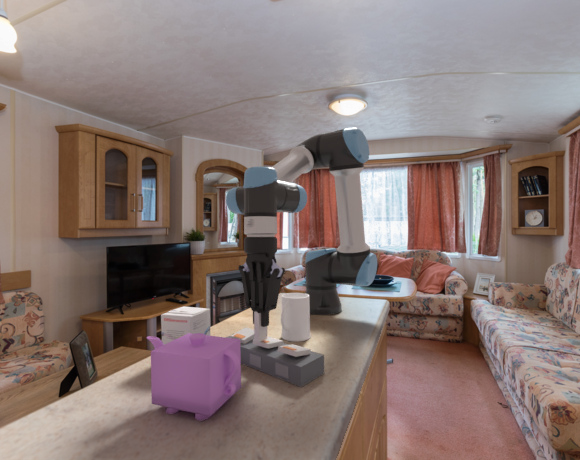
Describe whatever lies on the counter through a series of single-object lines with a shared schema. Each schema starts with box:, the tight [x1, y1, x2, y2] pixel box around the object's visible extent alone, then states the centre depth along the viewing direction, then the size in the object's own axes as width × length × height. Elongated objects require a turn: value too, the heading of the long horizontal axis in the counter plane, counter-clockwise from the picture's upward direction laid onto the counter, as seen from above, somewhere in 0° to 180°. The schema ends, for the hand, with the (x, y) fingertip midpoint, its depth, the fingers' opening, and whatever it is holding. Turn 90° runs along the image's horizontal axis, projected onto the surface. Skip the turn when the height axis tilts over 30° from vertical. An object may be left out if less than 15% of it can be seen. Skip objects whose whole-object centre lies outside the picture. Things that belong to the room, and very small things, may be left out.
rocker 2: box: [253, 336, 284, 349], centre depth 77 cm, size 5×5×1 cm
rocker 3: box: [278, 343, 312, 357], centre depth 72 cm, size 5×5×1 cm
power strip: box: [225, 335, 325, 388], centre depth 79 cm, size 8×32×4 cm, turn 49°
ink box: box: [160, 306, 211, 345], centre depth 81 cm, size 9×8×12 cm
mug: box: [280, 292, 312, 342], centre depth 94 cm, size 12×8×12 cm
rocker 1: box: [230, 326, 254, 344], centre depth 82 cm, size 5×5×1 cm
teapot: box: [146, 333, 242, 421], centre depth 60 cm, size 20×10×12 cm, turn 70°
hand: (260, 339), depth 75 cm, fingers closed
